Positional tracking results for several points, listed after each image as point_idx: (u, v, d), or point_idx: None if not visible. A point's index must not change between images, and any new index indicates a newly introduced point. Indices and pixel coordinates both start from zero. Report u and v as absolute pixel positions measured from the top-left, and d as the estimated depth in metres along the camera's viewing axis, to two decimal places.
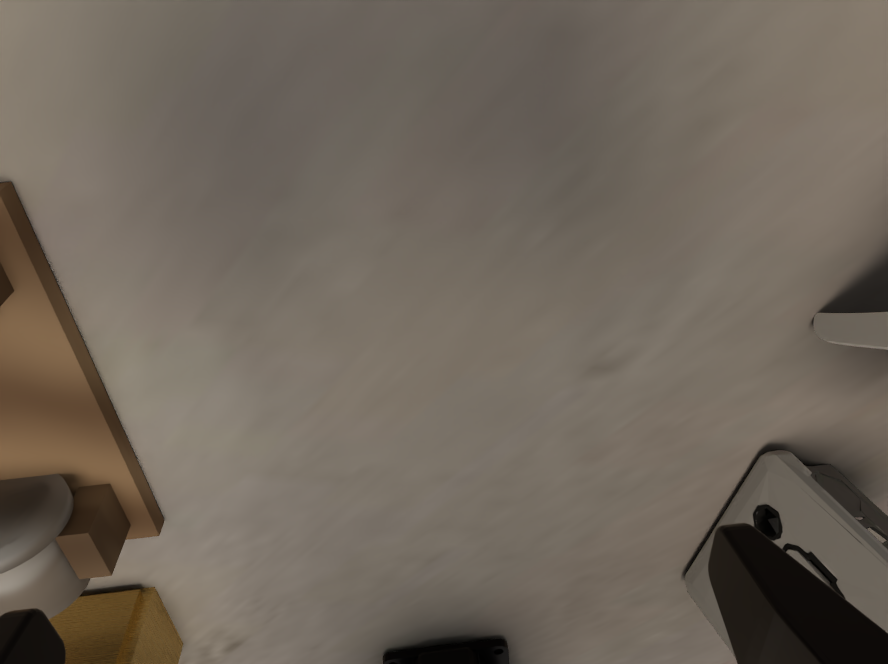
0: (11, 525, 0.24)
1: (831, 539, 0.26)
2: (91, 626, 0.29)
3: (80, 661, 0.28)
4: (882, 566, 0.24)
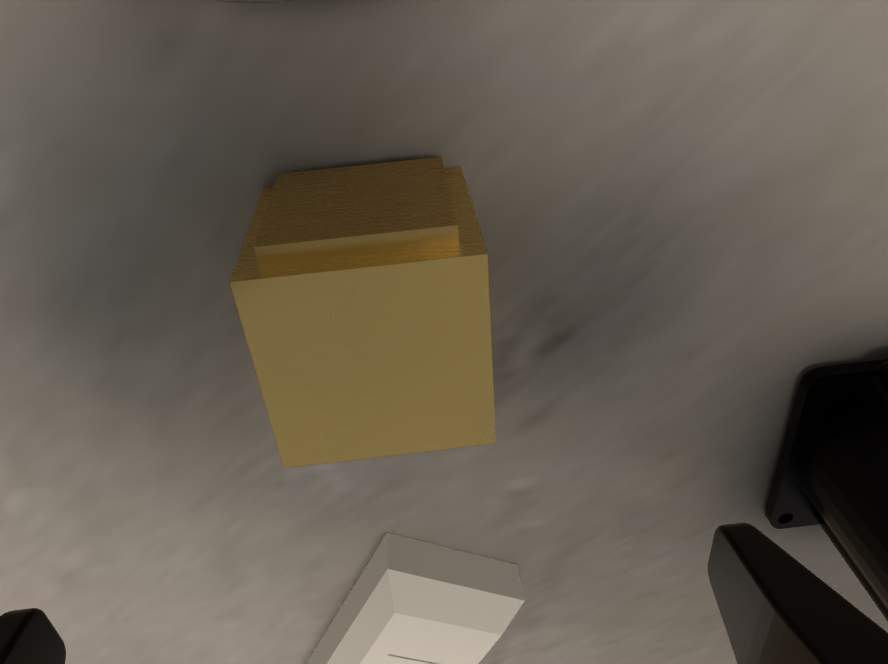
0: None
1: None
2: (369, 191, 0.14)
3: (374, 224, 0.12)
4: None
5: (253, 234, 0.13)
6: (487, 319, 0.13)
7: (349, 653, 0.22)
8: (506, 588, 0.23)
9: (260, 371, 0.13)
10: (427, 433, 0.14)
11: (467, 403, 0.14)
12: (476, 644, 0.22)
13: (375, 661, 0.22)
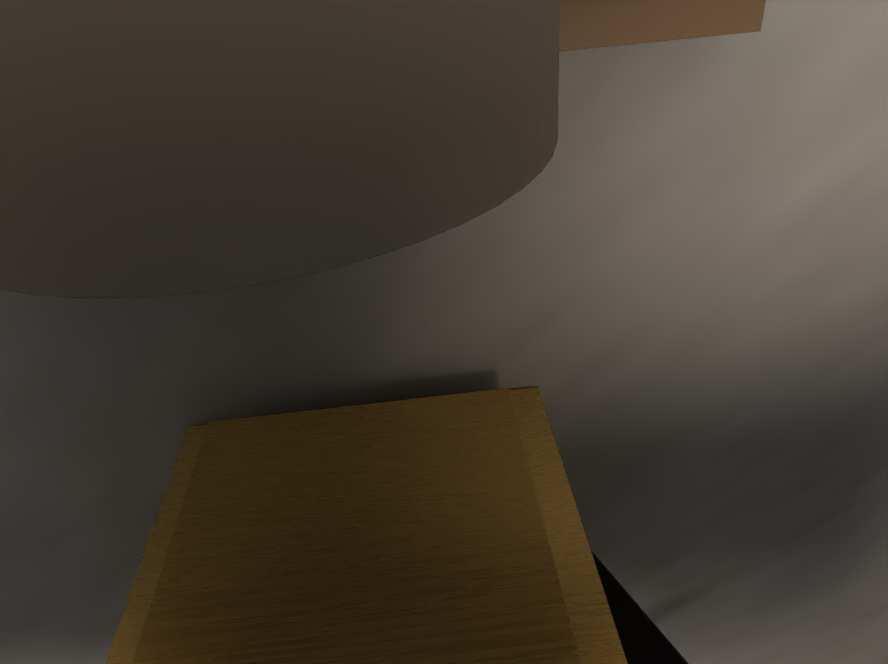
0: None
1: None
2: (376, 505, 0.07)
3: (389, 653, 0.05)
4: None
5: (138, 607, 0.06)
6: None
7: None
8: None
9: None
10: None
11: None
12: None
13: None
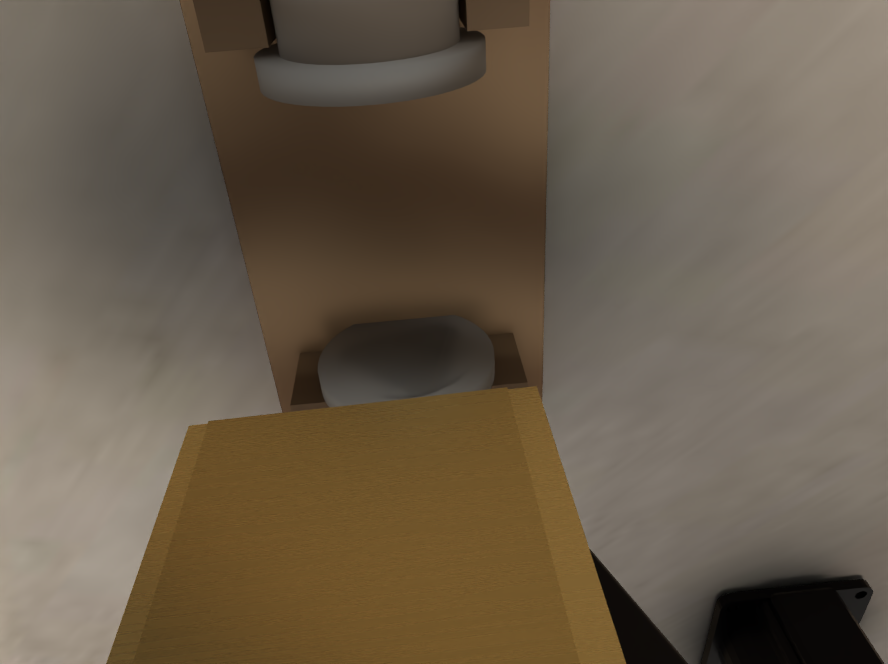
0: (435, 365, 0.17)
1: None
2: (376, 503, 0.07)
3: (388, 650, 0.05)
4: None
5: (140, 604, 0.06)
6: None
7: None
8: None
9: None
10: None
11: None
12: None
13: None
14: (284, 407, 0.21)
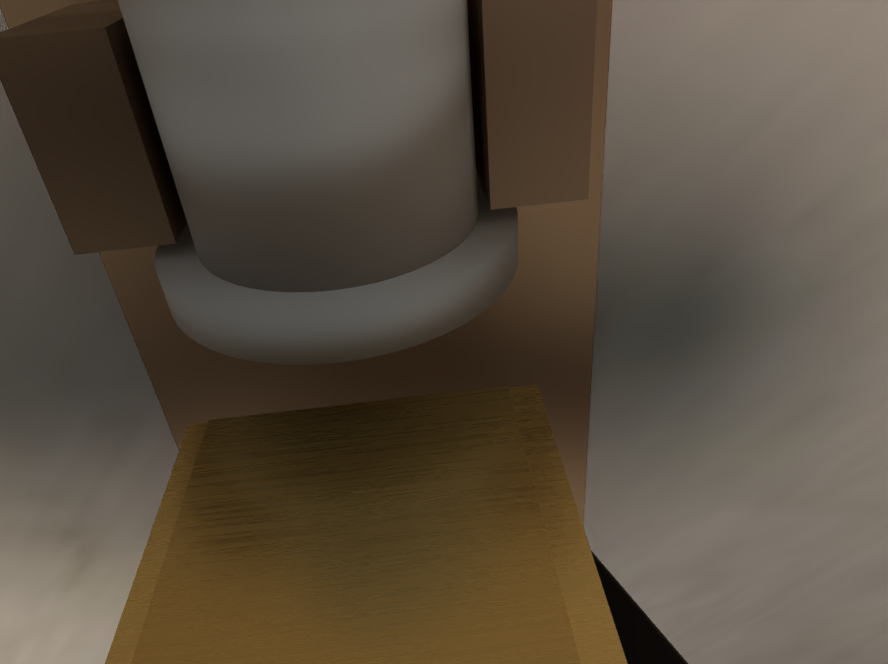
0: None
1: None
2: (376, 501, 0.07)
3: (388, 649, 0.05)
4: None
5: (139, 603, 0.06)
6: None
7: None
8: None
9: None
10: None
11: None
12: None
13: None
14: None
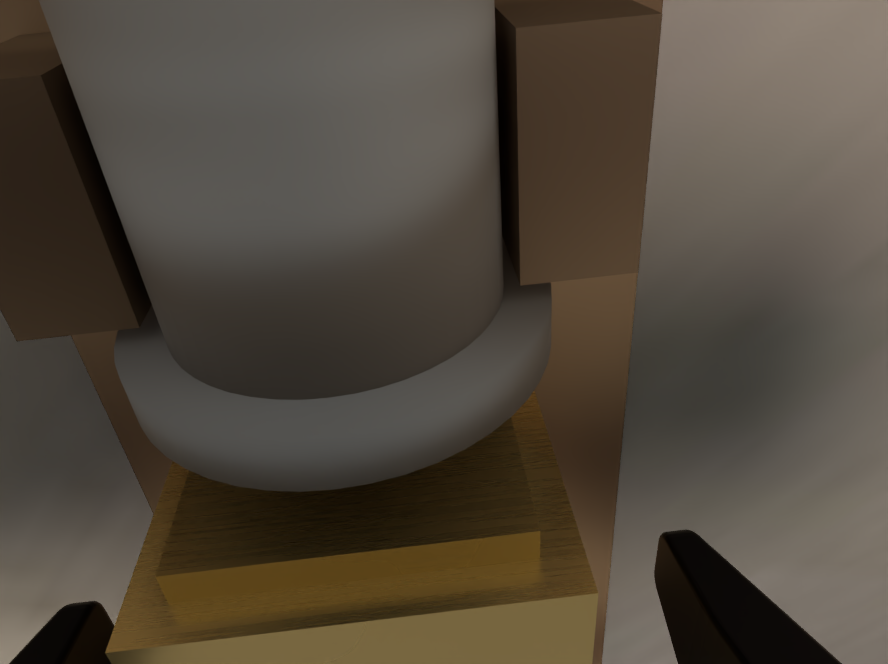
0: None
1: None
2: None
3: (382, 516, 0.07)
4: None
5: (172, 495, 0.08)
6: None
7: None
8: None
9: None
10: None
11: None
12: None
13: None
14: None
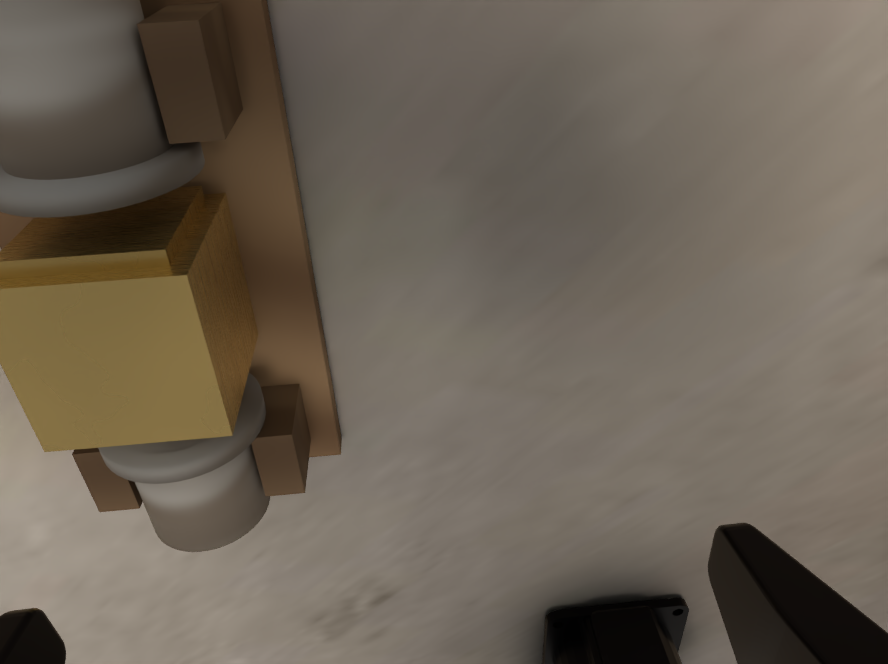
0: None
1: None
2: (117, 216, 0.16)
3: (99, 246, 0.14)
4: None
5: None
6: (199, 329, 0.15)
7: None
8: None
9: (7, 367, 0.15)
10: (168, 425, 0.16)
11: (198, 400, 0.16)
12: None
13: None
14: None
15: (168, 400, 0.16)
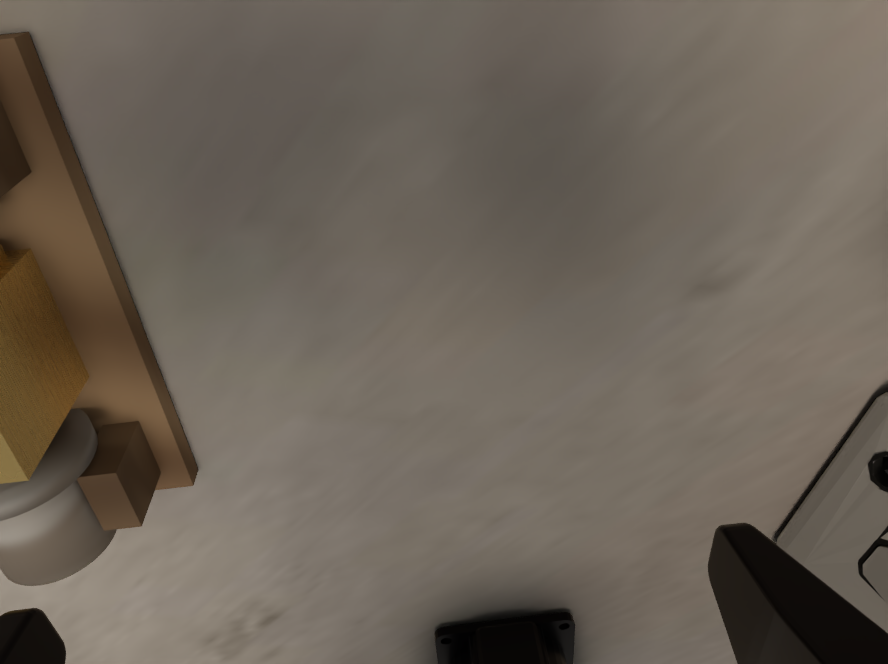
0: None
1: None
2: None
3: None
4: None
5: None
6: None
7: None
8: None
9: None
10: None
11: None
12: None
13: None
14: None
15: None
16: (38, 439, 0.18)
